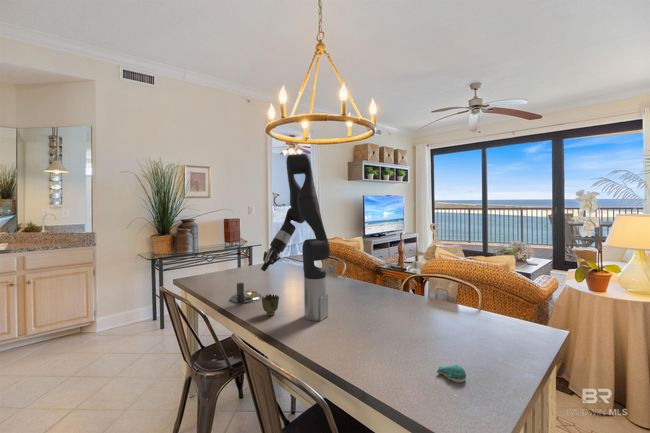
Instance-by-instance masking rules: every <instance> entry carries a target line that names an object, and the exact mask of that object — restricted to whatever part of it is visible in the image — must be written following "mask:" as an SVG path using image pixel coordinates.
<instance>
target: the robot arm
mask: <svg viewBox="0 0 650 433" xmlns="http://www.w3.org/2000/svg"><path fill="white" fill-rule="evenodd" d="M286 173H287V179H288V180H287V182H288V186H289V205H290V208H288V209H287V211H286V215H285V218H284V220H283V224H282V226H281V227H280V229H279V230H278V232H277V233H276V234H275V235H274V237H273V238H272V241H271V242H270V243H269V245H270V248H269V249H268V250H267V251H264V252H263V258H262V261H263V264H262V266H261V268H260V270H261V271H263V272H266V271H267V270H268V267H269V266H270V265H274V264H275V263H277V262H278V261H279V260H280V259H281V256H280V254H281V253H283V252H284V250H285V249H286V248H287V245H288V244H289V243H290V240H291V238H292V236H293V234H294V233H295V231H296V229H297V228H296V225H294V224H293V223H292V221H293V222H295V223H297V224H303V223H305V222H306V223H307V225H308V226H309V227H310V228H311V230H312V232H313V234H314V236H315V238H309V239H307V238H306V239H305V240H303V243H302V250H301V251H302V260H303V262H302V264H303V266H302V267H303V276H304V277H303V280H304V284H303V285H304V287H303V288H304V289H303V290H304V292H303V293H304V294H303V295H304V296H303V297H304V299H303V300H304V303H303V304H304V318H305V319H306V320H309V321H320V322H321V321H323V320H324V319H327V318H328V317H329V295H328V293H327V271H326V269H324V268H322V267H320V266H319V267H318V266H316V265H315V262H316V261H325V260H327V259H328V260H329V258H330V255H331V248H330V243H329V239H328V236H327V233H326V229H325V226H324V222H323V219H322V213H321V208H320V204H319V200H318V195H317V191H316V187H315V182H314V176H313V170H312V162H311V158H310V156H309V155H308V154H307V153H299V154H298V153H297V154H296V153H295V154H288V155H287V157H286ZM303 174H304V176H305V177H304V182H303V184H302V186H300V184H299V183H298V182H297V180H296V178H295V175H303Z"/></svg>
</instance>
